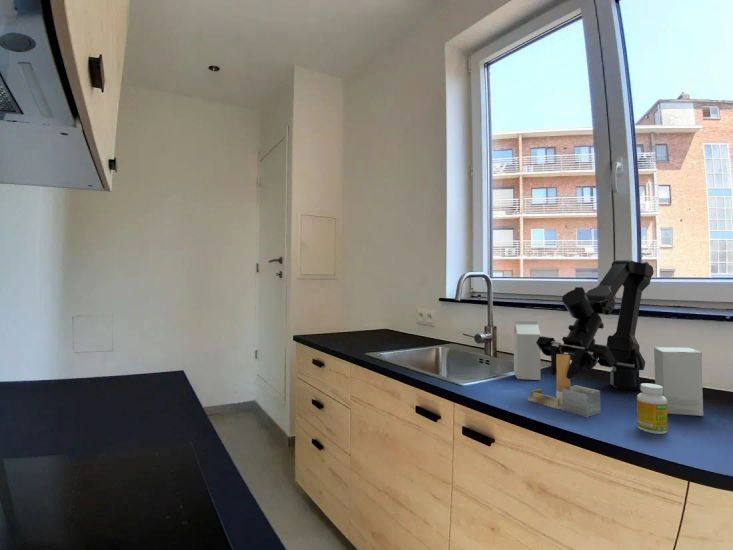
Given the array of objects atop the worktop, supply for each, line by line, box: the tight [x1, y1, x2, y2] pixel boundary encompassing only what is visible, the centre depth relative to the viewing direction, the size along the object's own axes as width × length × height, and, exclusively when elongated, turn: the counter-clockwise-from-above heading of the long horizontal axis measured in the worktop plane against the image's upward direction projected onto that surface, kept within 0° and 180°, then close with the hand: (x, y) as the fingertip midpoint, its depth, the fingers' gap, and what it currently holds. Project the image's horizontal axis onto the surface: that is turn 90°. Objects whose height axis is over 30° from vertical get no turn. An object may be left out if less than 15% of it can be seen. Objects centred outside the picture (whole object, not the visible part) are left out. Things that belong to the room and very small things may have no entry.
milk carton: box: [513, 320, 541, 381], centre depth 134 cm, size 7×7×19 cm
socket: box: [562, 384, 601, 418], centre depth 99 cm, size 6×6×6 cm
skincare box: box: [653, 346, 704, 417], centre depth 99 cm, size 8×7×16 cm
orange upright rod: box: [555, 353, 571, 405], centre depth 101 cm, size 8×3×12 cm, turn 32°
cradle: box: [527, 388, 563, 411], centre depth 106 cm, size 10×6×2 cm, turn 32°
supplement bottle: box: [636, 382, 668, 435], centre depth 87 cm, size 5×5×10 cm
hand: (560, 376), depth 102 cm, fingers open, 4 cm apart
